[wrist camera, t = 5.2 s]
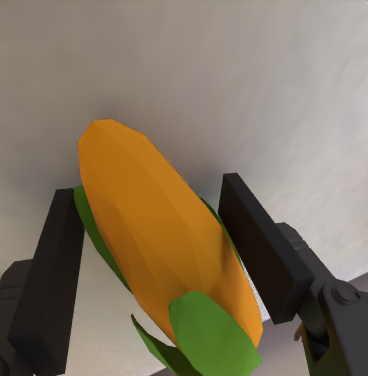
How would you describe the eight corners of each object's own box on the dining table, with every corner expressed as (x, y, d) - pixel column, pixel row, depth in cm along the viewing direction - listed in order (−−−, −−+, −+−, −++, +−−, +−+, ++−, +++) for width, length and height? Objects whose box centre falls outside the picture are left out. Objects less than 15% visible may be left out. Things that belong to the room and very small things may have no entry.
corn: (201, 429, 17) (-120, 289, 5) (173, 320, 23) (2, 136, 11) (299, 378, 17) (237, 113, 5) (245, 284, 23) (157, 61, 11)
